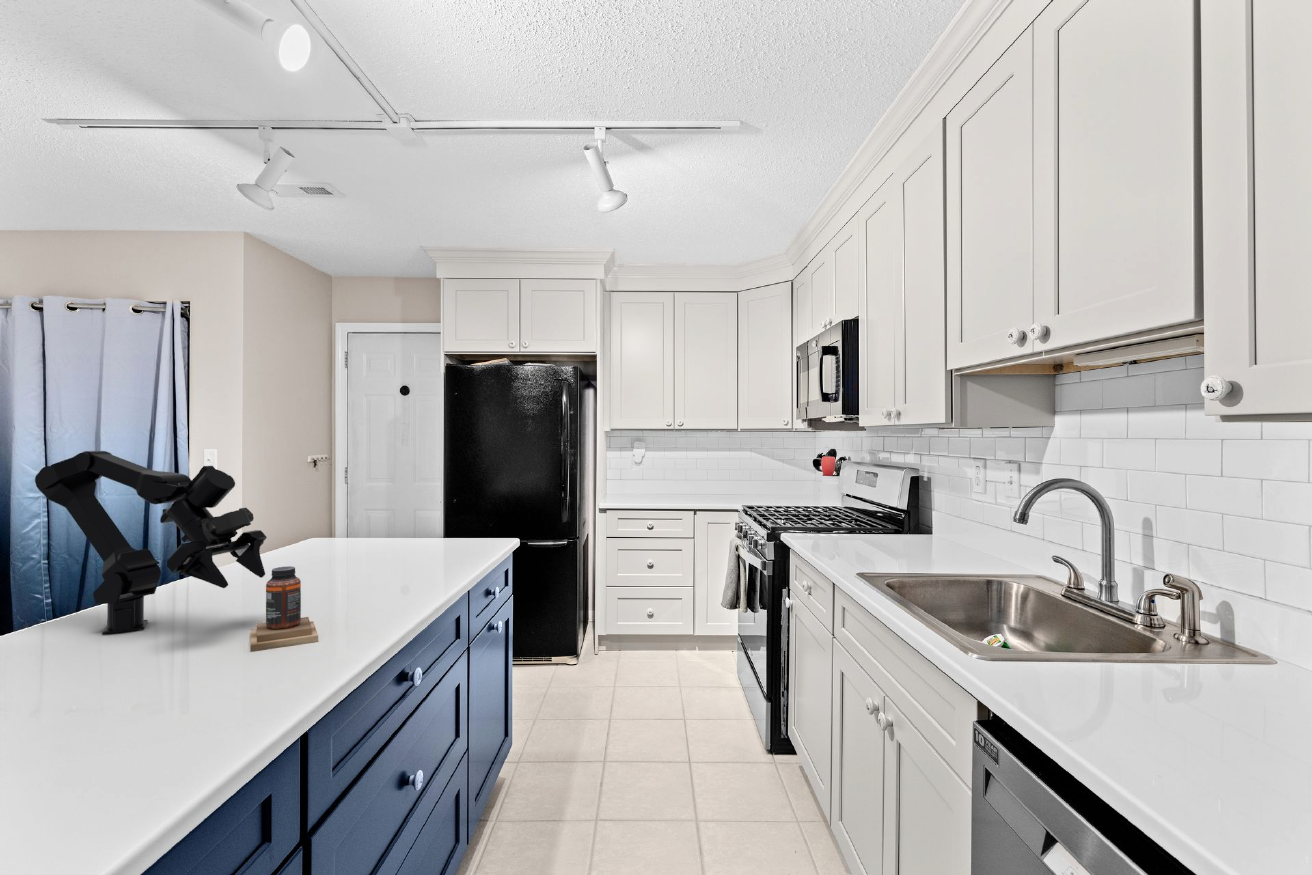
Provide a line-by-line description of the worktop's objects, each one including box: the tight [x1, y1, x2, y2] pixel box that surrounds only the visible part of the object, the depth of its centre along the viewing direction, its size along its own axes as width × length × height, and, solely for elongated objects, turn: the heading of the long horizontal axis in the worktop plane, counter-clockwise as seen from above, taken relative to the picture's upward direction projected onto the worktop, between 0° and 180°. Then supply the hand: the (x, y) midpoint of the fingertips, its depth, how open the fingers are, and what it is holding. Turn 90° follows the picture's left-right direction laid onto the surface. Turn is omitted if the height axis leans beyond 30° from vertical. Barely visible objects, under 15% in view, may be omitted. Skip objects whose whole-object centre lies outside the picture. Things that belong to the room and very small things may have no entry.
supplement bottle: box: [265, 565, 302, 629], centre depth 123 cm, size 6×6×11 cm
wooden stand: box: [250, 616, 319, 653], centre depth 123 cm, size 11×11×2 cm
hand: (245, 581), depth 124 cm, fingers open, 9 cm apart
